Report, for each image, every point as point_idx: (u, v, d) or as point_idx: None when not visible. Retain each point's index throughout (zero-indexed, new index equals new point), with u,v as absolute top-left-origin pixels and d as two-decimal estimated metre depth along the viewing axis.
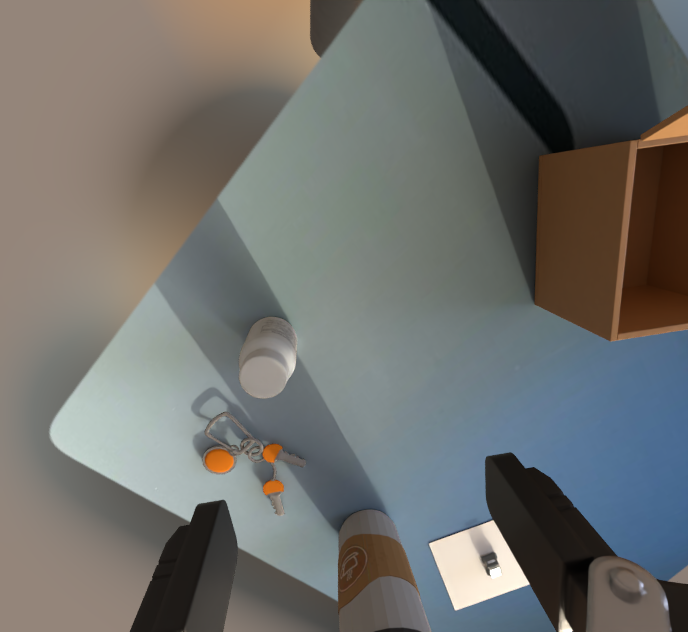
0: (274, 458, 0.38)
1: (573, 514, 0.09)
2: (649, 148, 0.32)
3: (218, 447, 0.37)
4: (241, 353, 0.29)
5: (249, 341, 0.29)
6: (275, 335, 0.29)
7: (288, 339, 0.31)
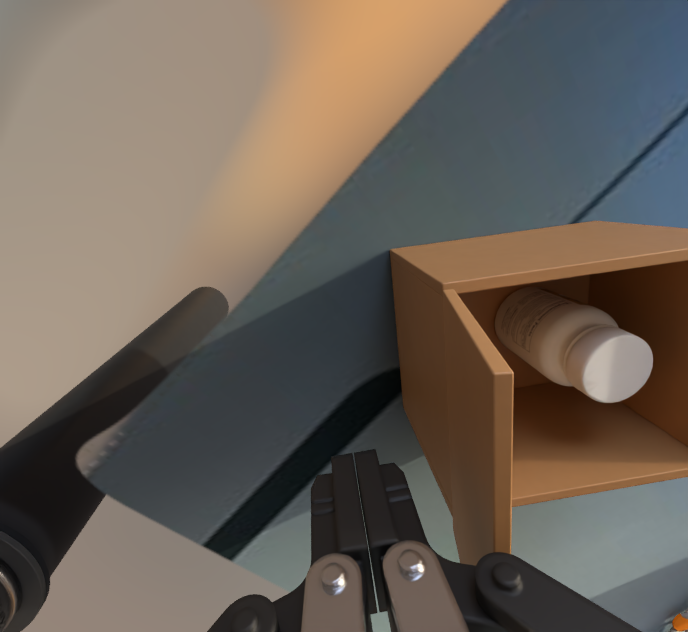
0: None
1: (407, 505, 0.10)
2: None
3: None
4: (559, 383, 0.20)
5: (542, 371, 0.20)
6: (538, 334, 0.20)
7: (545, 311, 0.20)
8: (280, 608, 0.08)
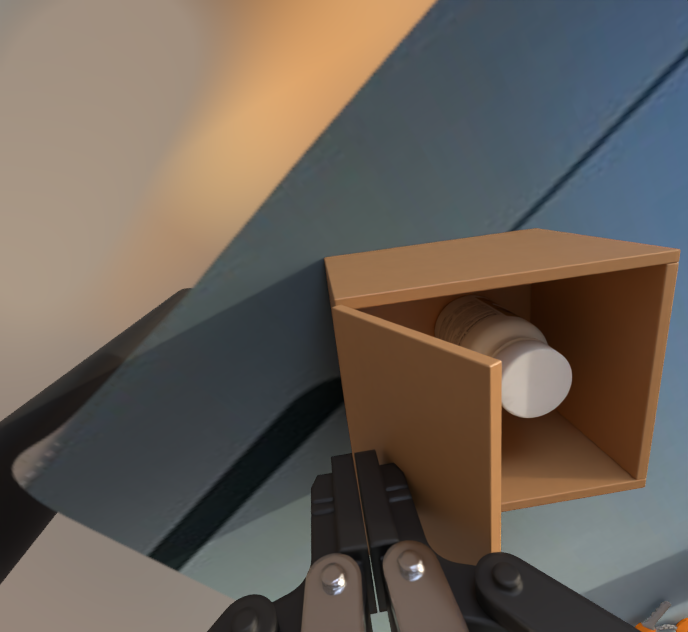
0: (651, 630, 0.35)
1: (407, 504, 0.10)
2: None
3: None
4: None
5: None
6: (464, 346, 0.19)
7: (473, 322, 0.20)
8: (280, 608, 0.08)
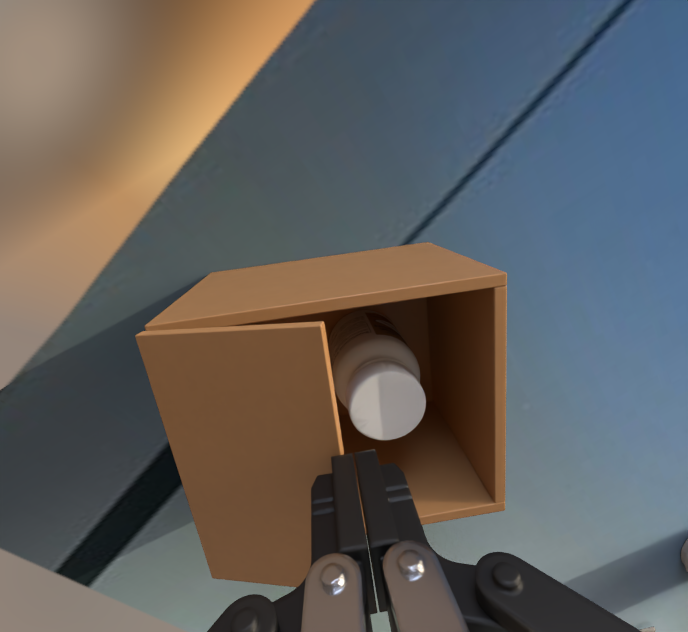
0: None
1: (407, 505, 0.10)
2: None
3: None
4: None
5: (342, 403, 0.19)
6: (335, 365, 0.19)
7: (347, 340, 0.19)
8: (280, 608, 0.08)
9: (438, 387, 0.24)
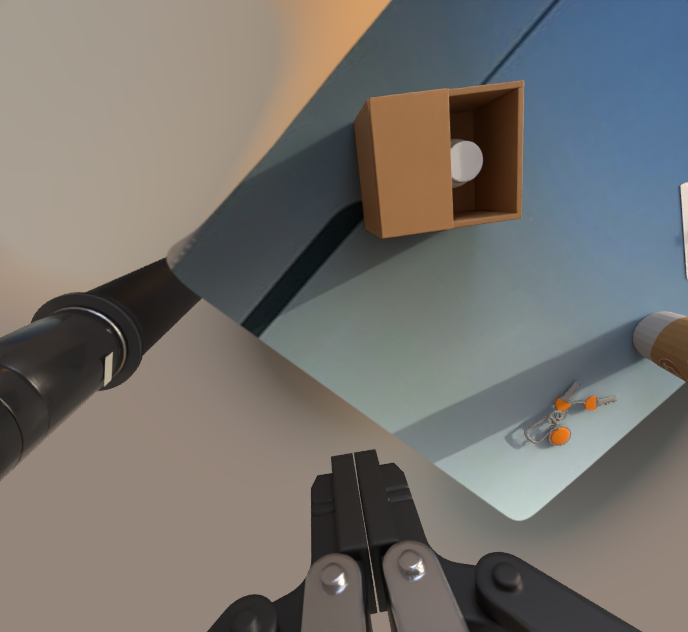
0: (567, 403, 0.51)
1: (407, 504, 0.10)
2: None
3: (549, 436, 0.53)
4: None
5: None
6: None
7: None
8: (280, 608, 0.08)
9: (480, 192, 0.41)
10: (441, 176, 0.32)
